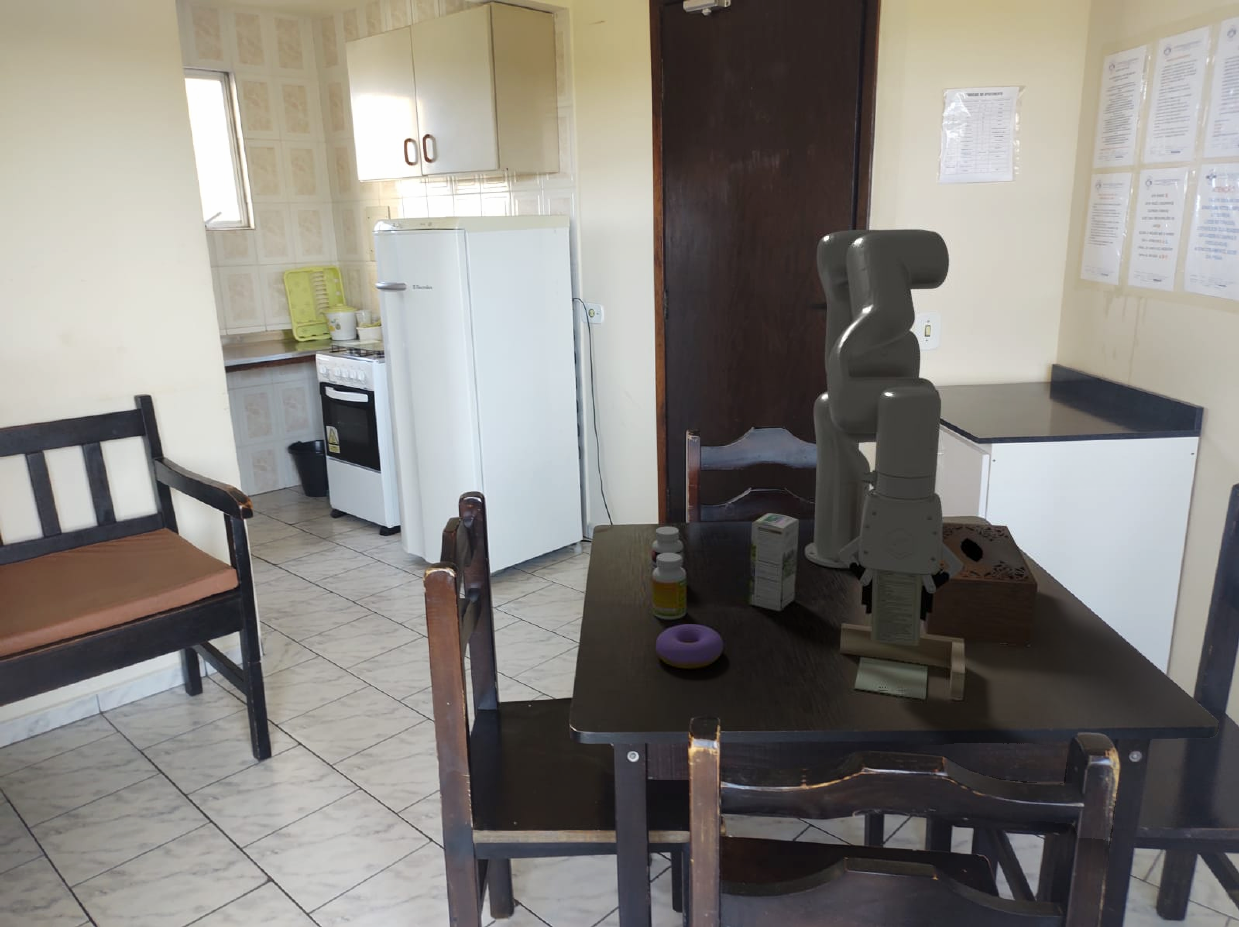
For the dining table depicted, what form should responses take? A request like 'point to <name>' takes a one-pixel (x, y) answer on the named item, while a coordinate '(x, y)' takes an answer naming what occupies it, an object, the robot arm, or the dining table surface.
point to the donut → (689, 646)
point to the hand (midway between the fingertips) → (896, 612)
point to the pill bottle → (666, 544)
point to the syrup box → (773, 561)
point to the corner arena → (904, 674)
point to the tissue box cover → (984, 588)
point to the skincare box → (896, 607)
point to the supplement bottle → (669, 587)
